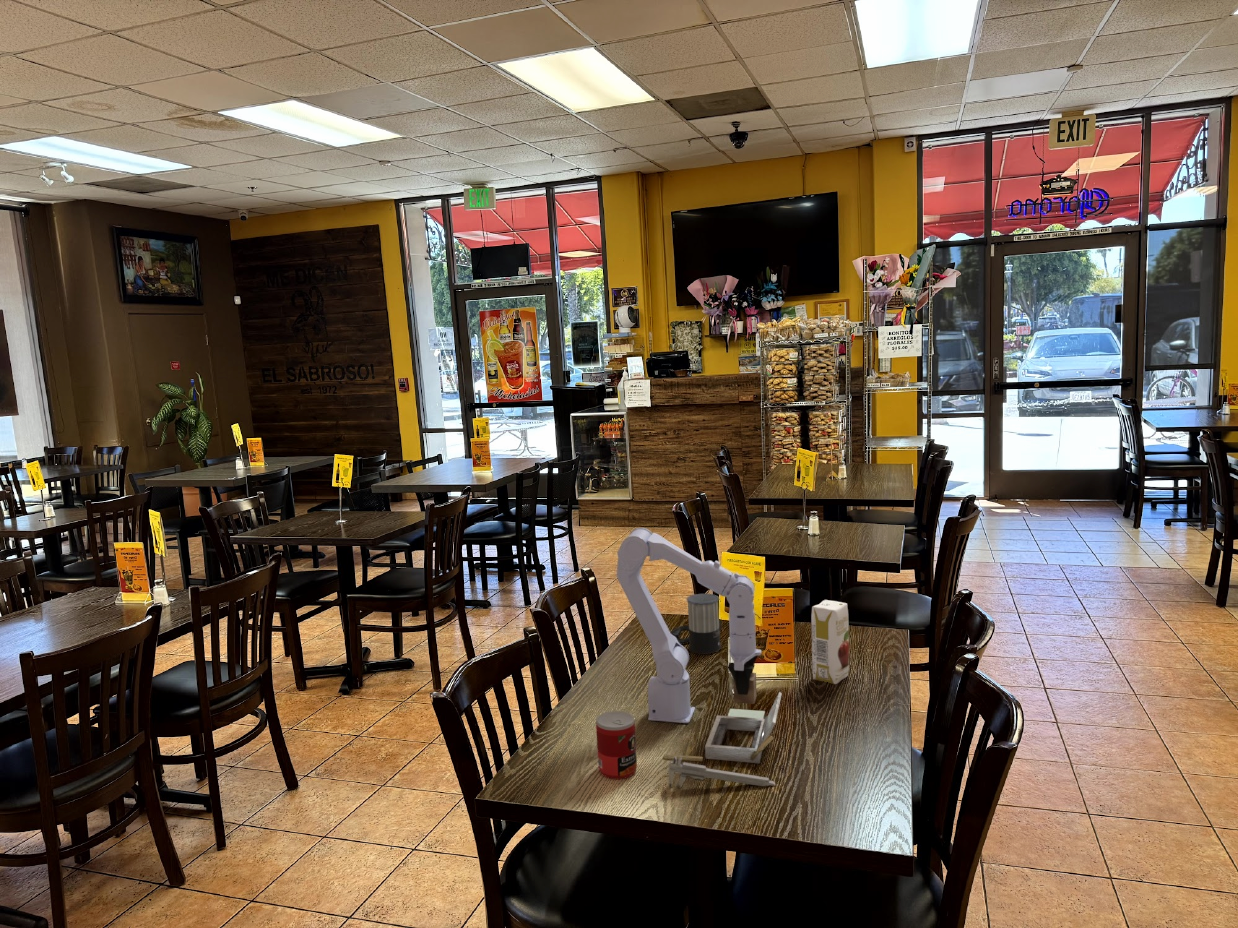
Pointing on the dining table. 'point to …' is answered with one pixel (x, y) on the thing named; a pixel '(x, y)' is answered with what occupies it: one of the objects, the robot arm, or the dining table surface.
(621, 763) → the canned food
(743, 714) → the green rubber mat
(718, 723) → the aluminium case
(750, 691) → the walnut block
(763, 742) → the propped lid
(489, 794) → the dining table surface
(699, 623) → the milk frother
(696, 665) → the dining table surface
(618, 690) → the dining table surface
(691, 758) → the brass bar
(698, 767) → the caliper
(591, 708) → the dining table surface
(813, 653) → the juice carton
